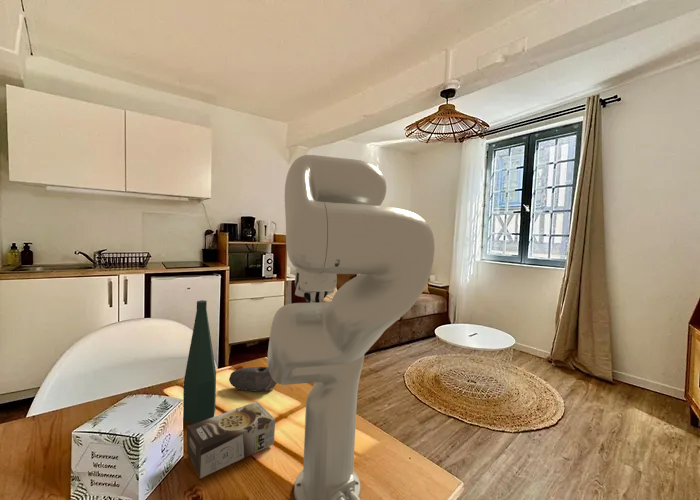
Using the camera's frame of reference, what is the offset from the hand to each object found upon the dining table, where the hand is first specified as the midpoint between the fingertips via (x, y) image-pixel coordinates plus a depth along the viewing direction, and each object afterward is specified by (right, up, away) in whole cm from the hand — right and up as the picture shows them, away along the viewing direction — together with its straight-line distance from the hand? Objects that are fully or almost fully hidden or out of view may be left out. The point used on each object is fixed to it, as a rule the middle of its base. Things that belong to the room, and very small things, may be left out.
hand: (314, 317), depth 81 cm
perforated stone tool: (-20, -26, +15) cm, 36 cm away
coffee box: (-11, -23, -6) cm, 26 cm away
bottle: (-30, -26, +1) cm, 40 cm away
